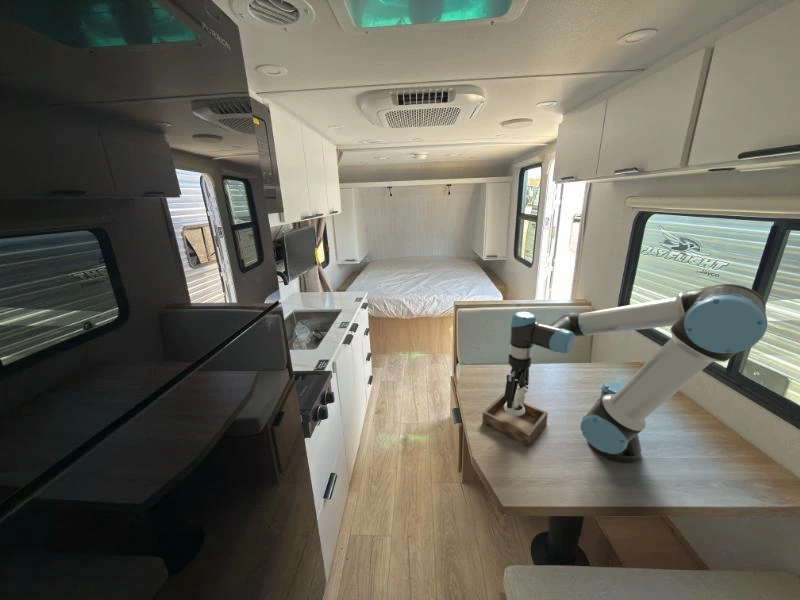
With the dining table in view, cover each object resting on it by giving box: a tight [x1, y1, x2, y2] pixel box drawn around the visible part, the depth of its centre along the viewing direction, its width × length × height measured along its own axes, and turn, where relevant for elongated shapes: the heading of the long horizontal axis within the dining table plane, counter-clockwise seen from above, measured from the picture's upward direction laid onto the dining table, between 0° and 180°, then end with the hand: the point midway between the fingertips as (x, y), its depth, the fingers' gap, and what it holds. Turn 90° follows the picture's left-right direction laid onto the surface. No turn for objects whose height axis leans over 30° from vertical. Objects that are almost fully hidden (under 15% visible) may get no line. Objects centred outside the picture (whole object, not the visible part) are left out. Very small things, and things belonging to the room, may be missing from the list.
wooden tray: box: [482, 393, 549, 448], centre depth 117 cm, size 18×16×5 cm
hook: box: [504, 386, 529, 416], centre depth 114 cm, size 8×12×7 cm
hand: (515, 408), depth 115 cm, fingers closed on hook, 8 cm apart
